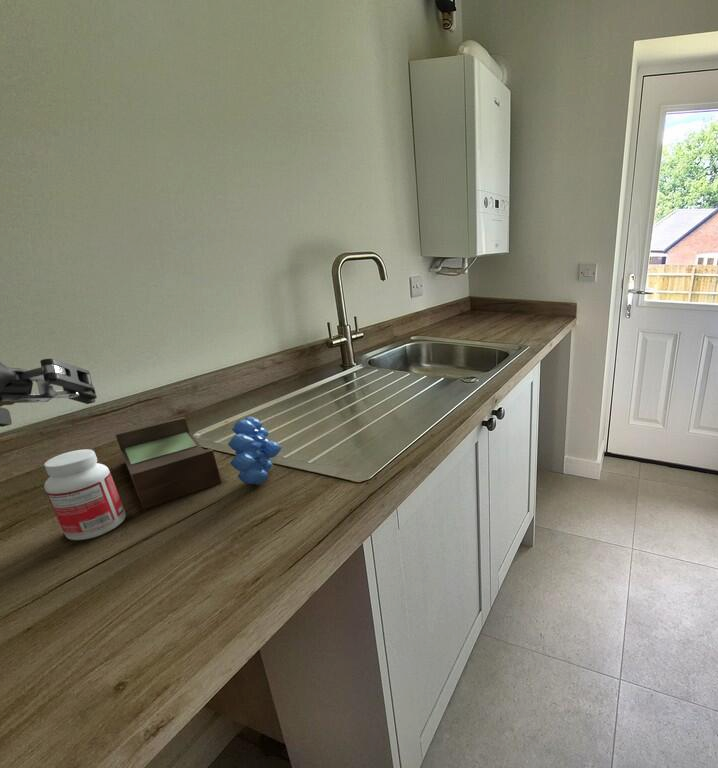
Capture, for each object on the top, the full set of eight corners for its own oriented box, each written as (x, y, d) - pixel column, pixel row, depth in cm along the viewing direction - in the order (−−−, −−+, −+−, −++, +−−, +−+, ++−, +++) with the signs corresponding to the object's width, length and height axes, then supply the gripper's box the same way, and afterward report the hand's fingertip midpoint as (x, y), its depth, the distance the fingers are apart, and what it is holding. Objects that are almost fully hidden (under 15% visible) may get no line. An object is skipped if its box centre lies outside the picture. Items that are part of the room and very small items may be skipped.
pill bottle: (97, 513, 60) (71, 446, 57) (138, 513, 60) (114, 446, 57) (52, 542, 54) (19, 469, 51) (97, 542, 54) (68, 469, 51)
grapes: (279, 498, 64) (264, 428, 60) (230, 505, 62) (211, 434, 58) (295, 462, 74) (283, 401, 70) (253, 468, 73) (239, 405, 69)
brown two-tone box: (143, 509, 61) (131, 474, 59) (125, 462, 75) (114, 432, 73) (221, 482, 68) (213, 450, 66) (192, 444, 82) (184, 416, 80)
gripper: (2, 314, 40) (110, 364, 55) (-212, 356, 35) (-29, 398, 51) (17, 384, 39) (123, 415, 54) (-201, 437, 34) (-18, 454, 50)
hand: (50, 407), depth 52 cm, fingers open, 8 cm apart
